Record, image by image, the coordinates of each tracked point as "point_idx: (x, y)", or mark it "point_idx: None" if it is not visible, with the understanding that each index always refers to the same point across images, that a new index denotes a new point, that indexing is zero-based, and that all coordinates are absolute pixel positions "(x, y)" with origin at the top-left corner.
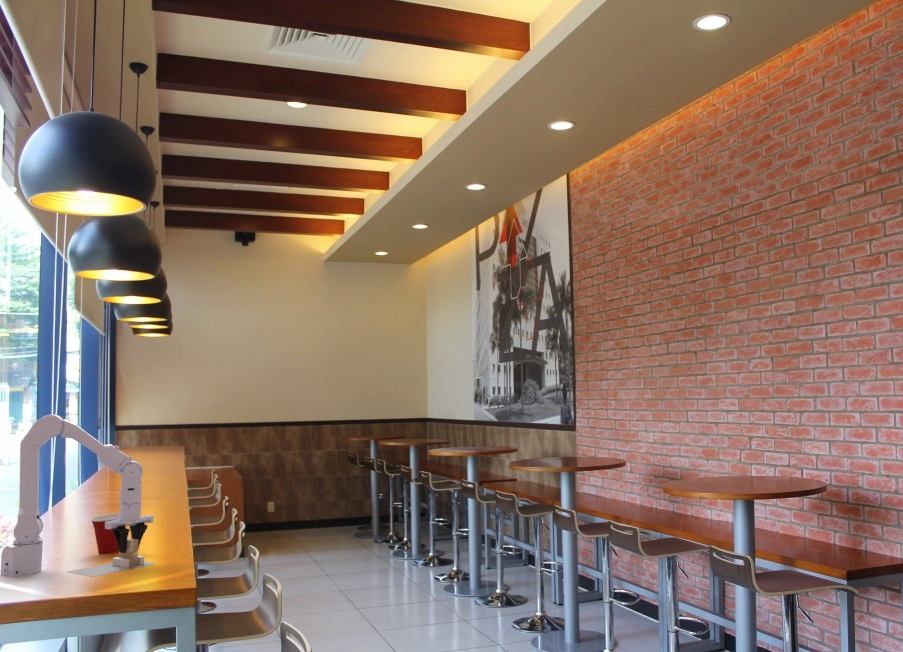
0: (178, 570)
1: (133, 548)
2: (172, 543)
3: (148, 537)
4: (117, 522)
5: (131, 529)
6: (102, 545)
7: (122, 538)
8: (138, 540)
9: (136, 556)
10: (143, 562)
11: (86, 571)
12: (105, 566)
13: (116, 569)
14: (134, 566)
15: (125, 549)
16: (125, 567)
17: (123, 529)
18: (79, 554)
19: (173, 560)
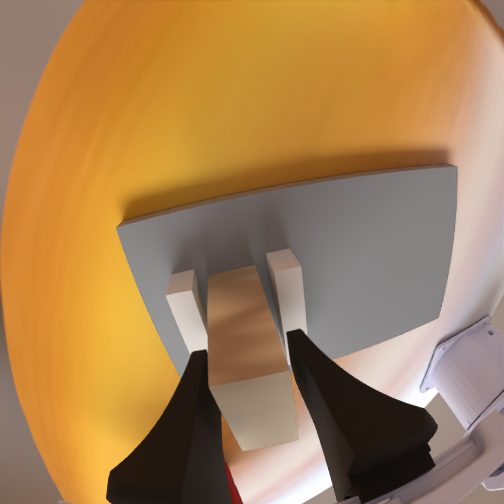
0: (78, 68)
1: (249, 330)
2: (57, 453)
3: (102, 489)
4: (476, 477)
5: (228, 497)
6: (230, 483)
7: (367, 387)
8: (195, 396)
9: (217, 298)
10: (173, 277)
11: (420, 280)
12: (332, 328)
13: (343, 232)
14: (242, 239)
15: (298, 340)
16: (289, 248)
17: (417, 439)
18: (254, 478)
19: (37, 310)
